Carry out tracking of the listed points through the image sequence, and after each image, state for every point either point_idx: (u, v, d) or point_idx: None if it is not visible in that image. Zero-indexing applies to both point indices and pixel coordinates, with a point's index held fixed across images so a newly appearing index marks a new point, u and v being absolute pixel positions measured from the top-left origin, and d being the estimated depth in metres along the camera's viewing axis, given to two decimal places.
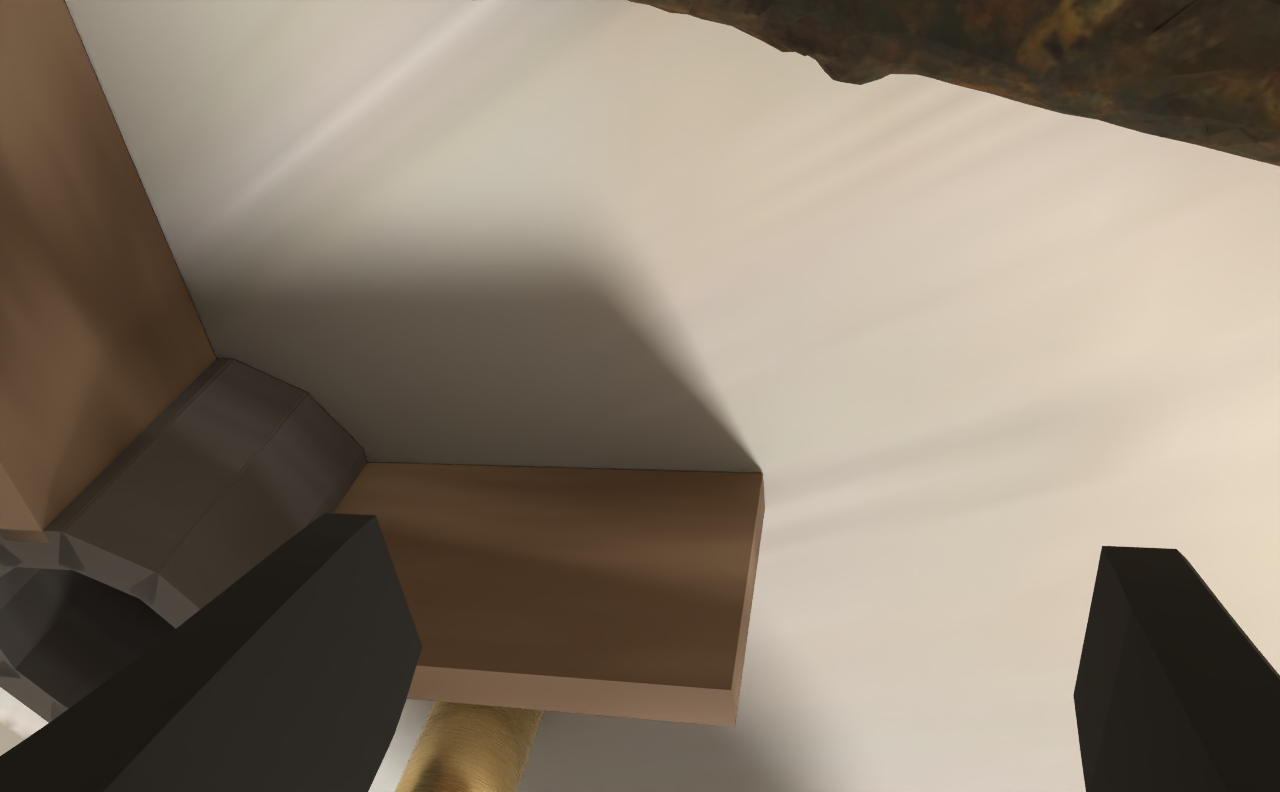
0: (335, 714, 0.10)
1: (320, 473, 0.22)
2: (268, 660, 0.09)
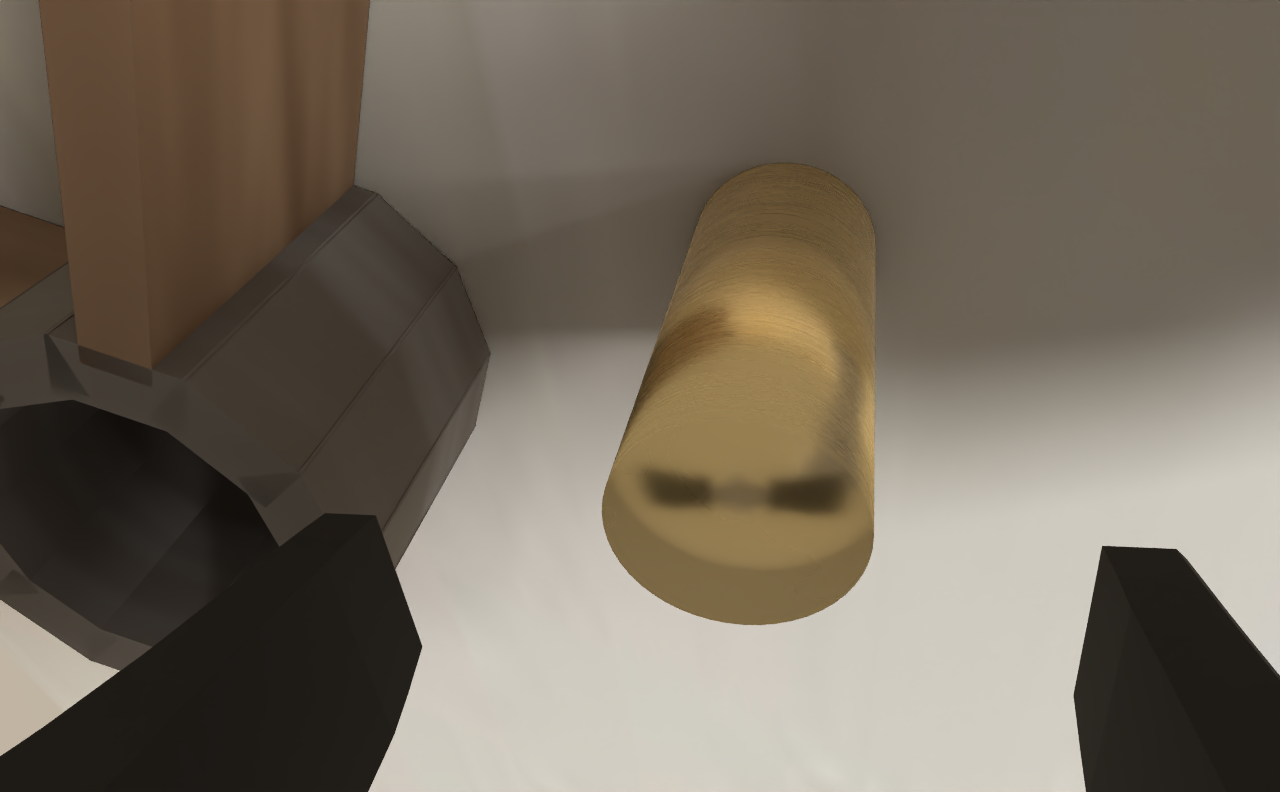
0: (335, 714, 0.10)
1: None
2: (268, 660, 0.09)
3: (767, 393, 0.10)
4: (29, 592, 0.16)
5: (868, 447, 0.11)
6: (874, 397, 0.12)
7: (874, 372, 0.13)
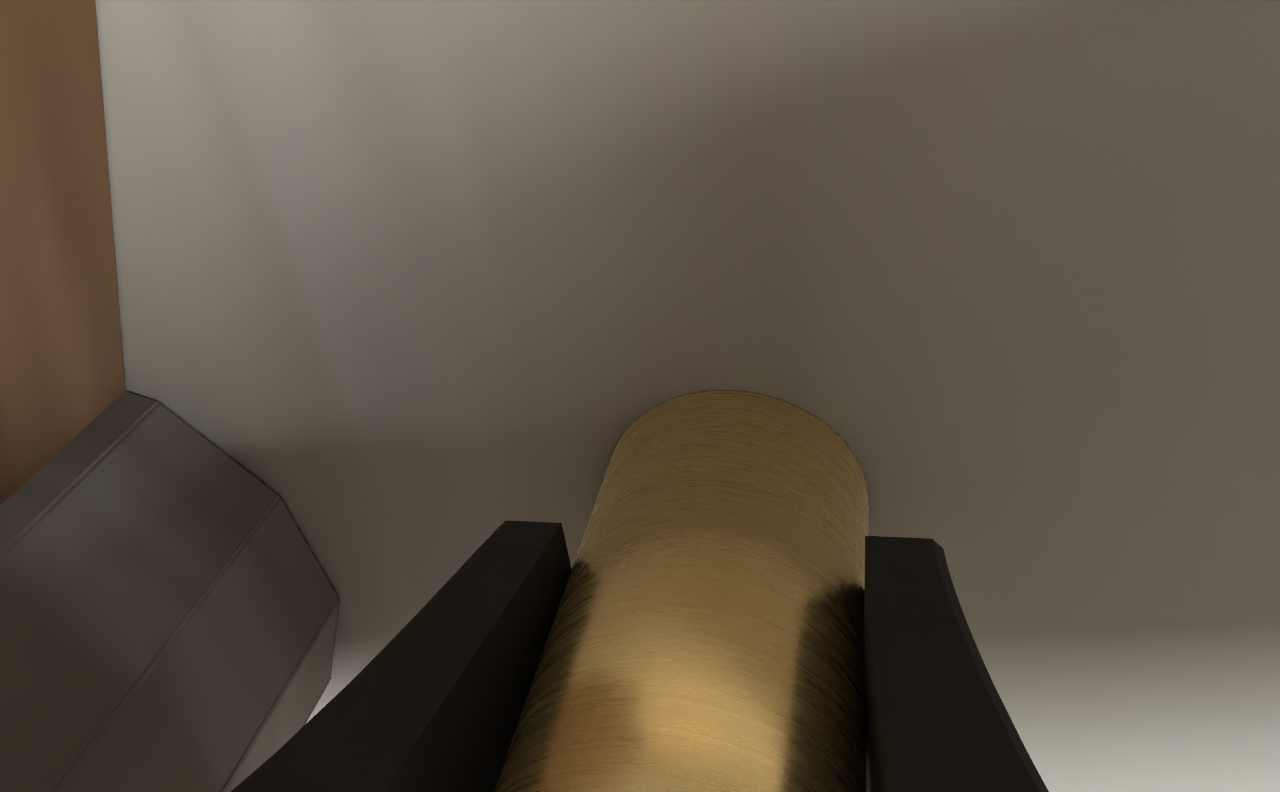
0: None
1: None
2: (486, 678, 0.08)
3: None
4: None
5: None
6: None
7: None
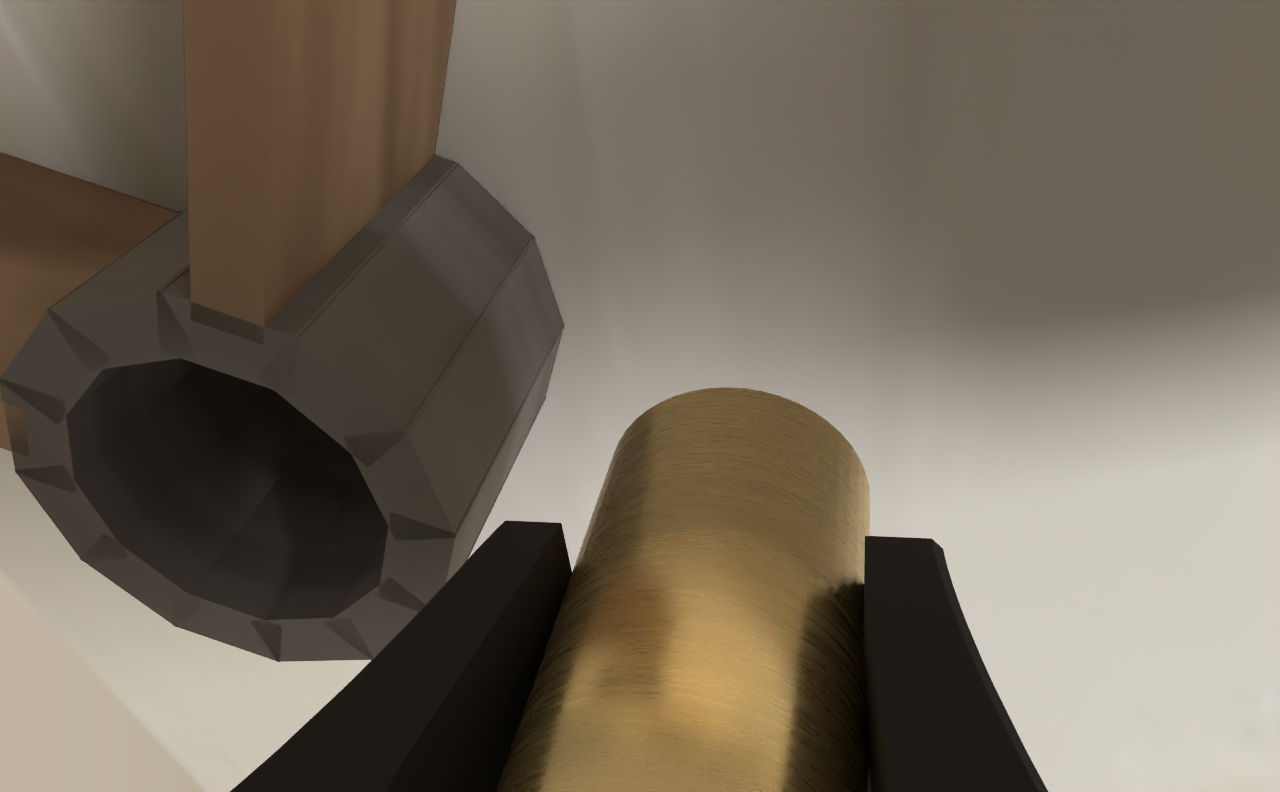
0: None
1: None
2: (486, 678, 0.08)
3: None
4: (118, 556, 0.16)
5: None
6: None
7: None
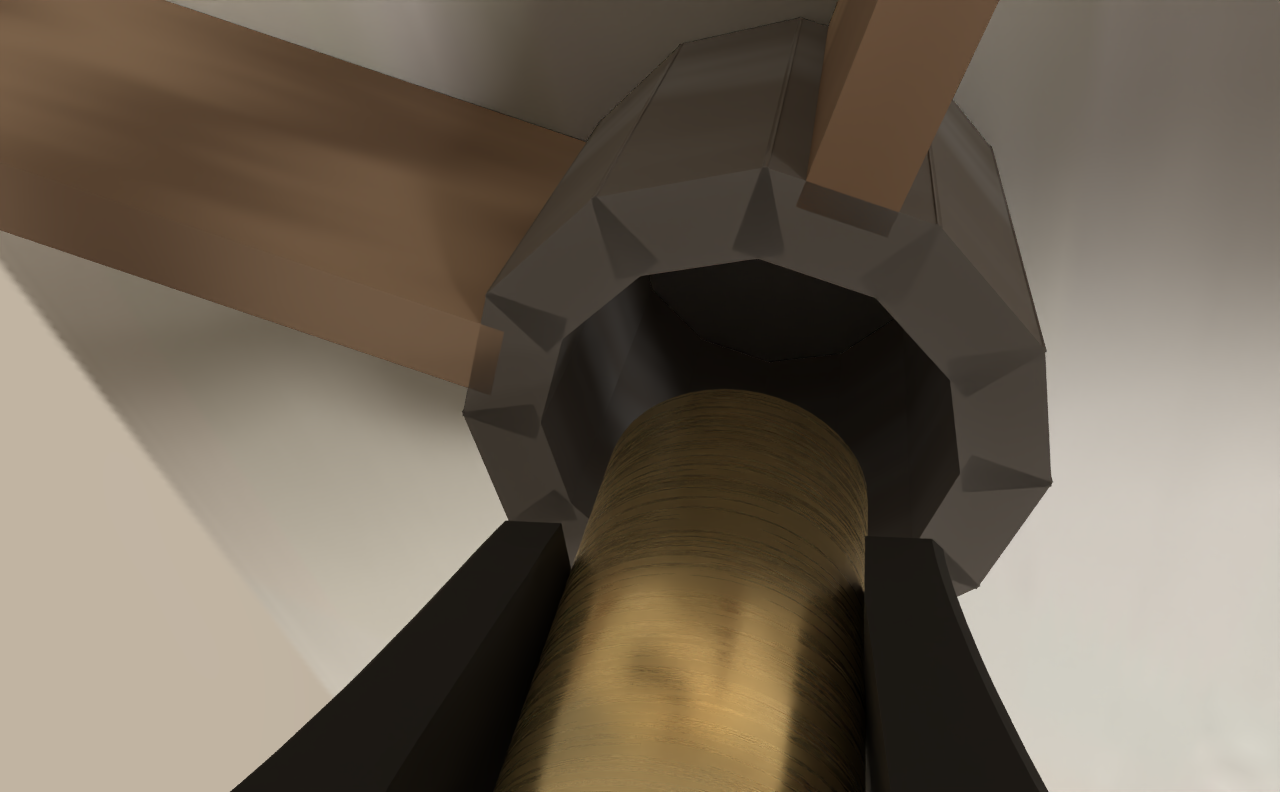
0: None
1: (761, 52, 0.14)
2: (486, 678, 0.08)
3: None
4: (560, 519, 0.13)
5: None
6: None
7: None
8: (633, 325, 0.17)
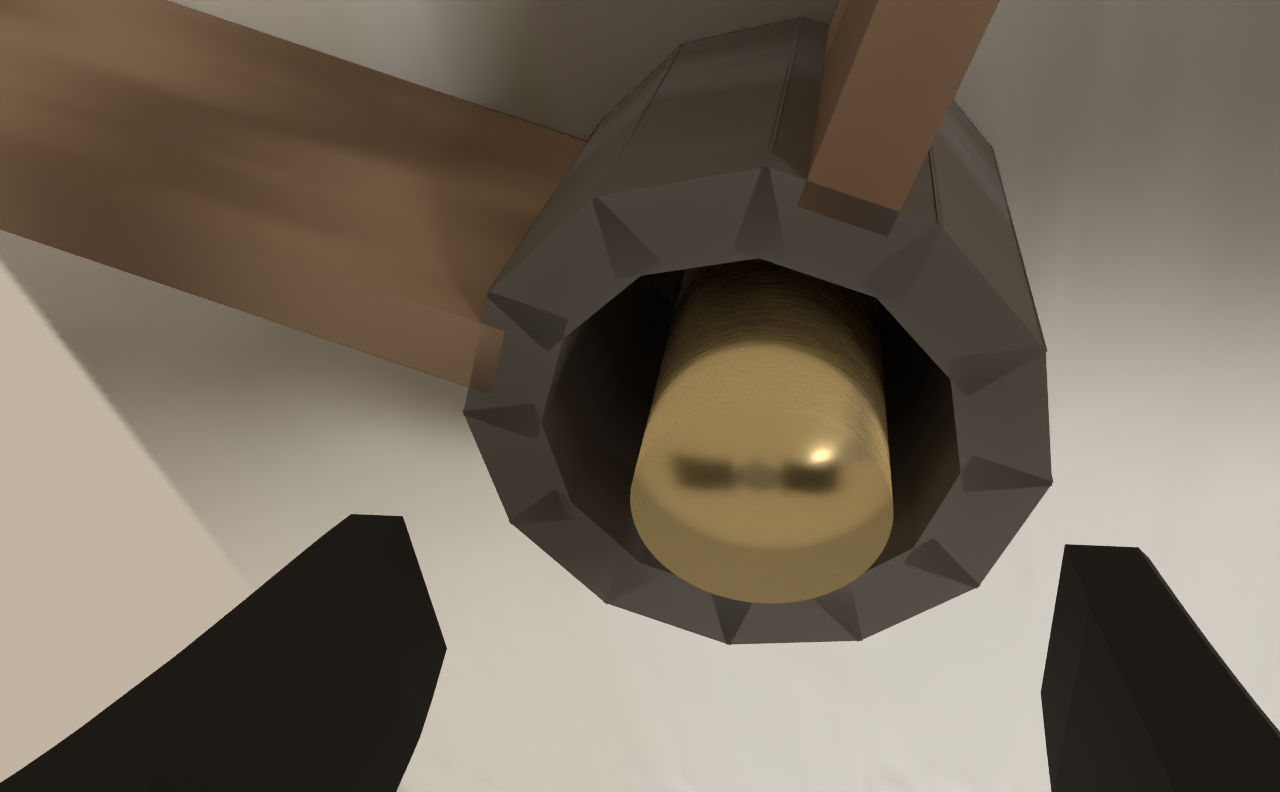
0: (363, 717, 0.09)
1: (761, 51, 0.14)
2: (299, 662, 0.08)
3: (789, 380, 0.11)
4: (560, 518, 0.13)
5: (884, 430, 0.11)
6: None
7: None
8: (634, 325, 0.17)
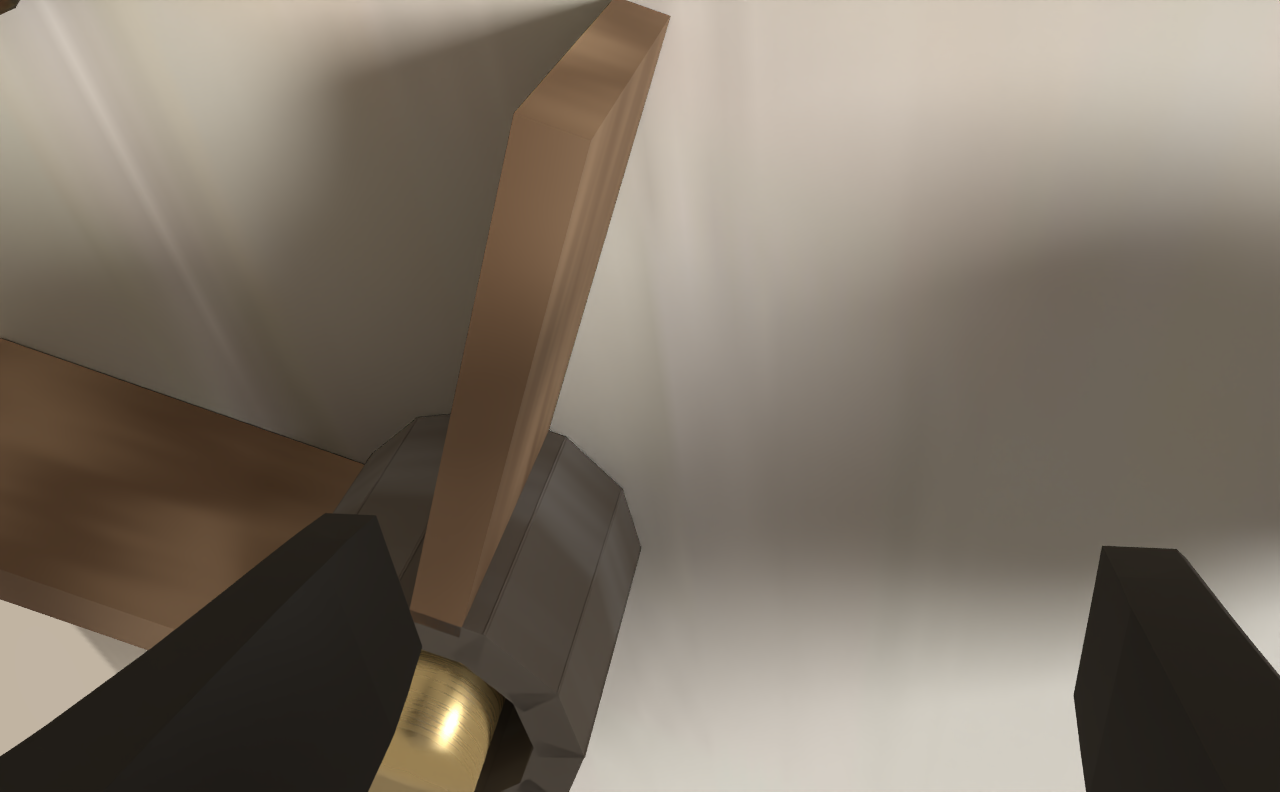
0: (335, 714, 0.10)
1: None
2: (269, 660, 0.09)
3: (407, 703, 0.19)
4: None
5: (478, 721, 0.19)
6: None
7: None
8: None
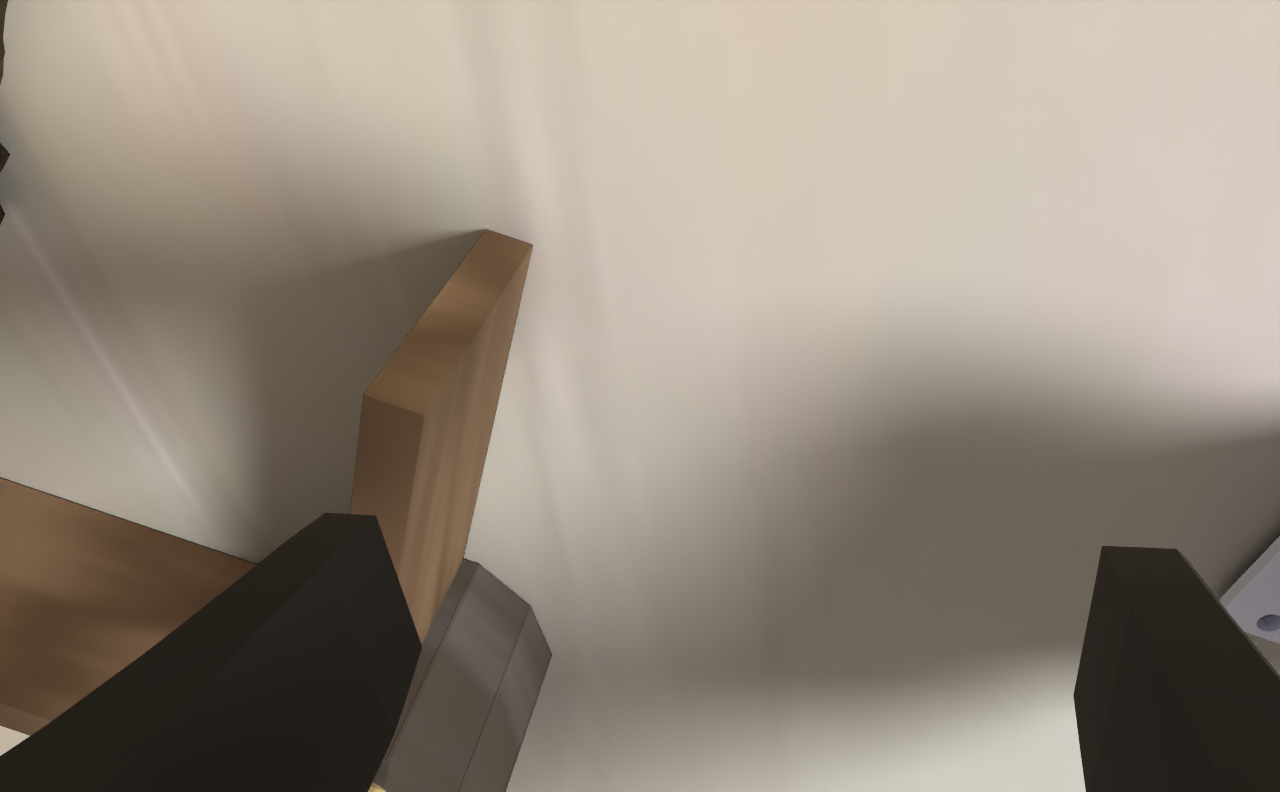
0: (335, 714, 0.10)
1: None
2: (268, 660, 0.09)
3: None
4: None
5: None
6: None
7: None
8: None
